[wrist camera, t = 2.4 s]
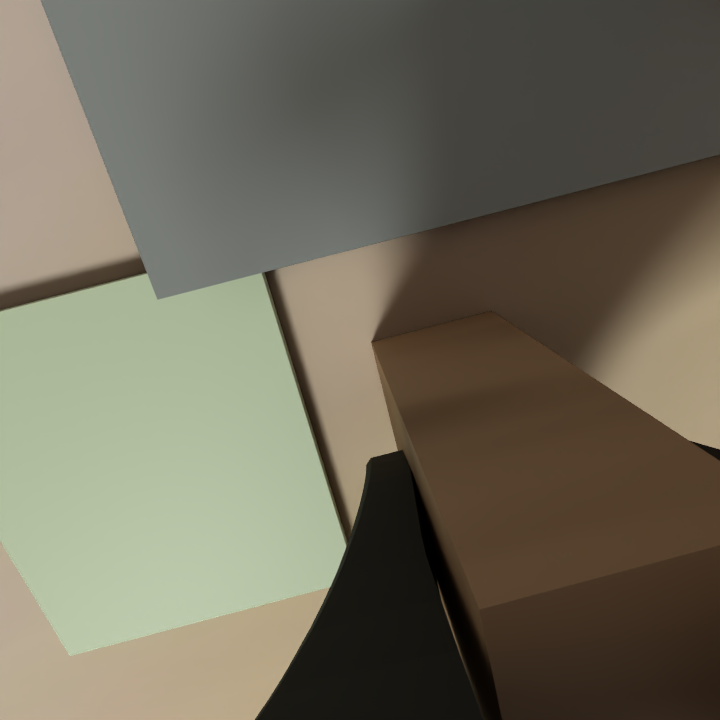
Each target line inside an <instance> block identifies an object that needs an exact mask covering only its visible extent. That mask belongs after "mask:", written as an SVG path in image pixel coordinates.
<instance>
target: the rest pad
mask: <svg viewBox="0 0 720 720" xmlns="http://www.w3.org/2000/svg"><path fill="white" fill-rule="evenodd" d="M0 542H1V543H2V545H3V546H4V548H5V550H6V551H7V553H8V555H9V556H10V558H11V560H12V561H13V563H14V565H15V566H16V568H17V570H18V571H19V573H20V575H21V576H22V578H23V580H24V581H25V583H26V585H27V586H28V588H29V589H30V591H31V593H32V594H33V596H34V598H35V599H36V601H37V603H38V604H39V606H40V608H41V609H42V611H43V613H44V614H45V616H46V618H47V619H48V621H49V623H50V624H51V626H52V627H53V629H54V631H55V632H56V634H57V636H58V637H59V639H60V641H61V642H62V644H63V646H64V647H65V649H66V651H67V652H68V654H69V656H72V655H76V654H79V653H83V652H87V651H91V650H94V649H98V648H102V647H106V646H110V645H113V644H117V643H121V642H125V641H128V640H132V639H136V638H140V637H144V636H147V635H151V634H155V633H159V632H162V631H166V630H170V629H174V628H178V627H181V626H185V625H189V624H193V623H196V622H200V621H204V620H208V619H212V618H215V617H219V616H223V615H227V614H230V613H234V612H238V611H242V610H245V609H249V608H253V607H257V606H261V605H264V604H268V603H272V602H276V601H279V600H283V599H287V598H291V597H295V596H298V595H302V594H306V593H310V592H313V591H317V590H321V589H325V588H329V587H331V584H332V582H333V580H334V578H335V575H336V573H337V570H338V568H339V565H340V562H341V560H342V557H343V555H344V552H345V549H346V547H347V544H348V542H347V539H346V536H345V533H344V529H343V526H342V523H341V520H340V516H339V513H338V510H337V507H336V503H335V500H334V497H333V494H332V490H331V487H330V484H329V481H328V477H327V474H326V471H325V468H324V464H323V461H322V458H321V455H320V451H319V448H318V445H317V442H316V438H315V435H314V432H313V429H312V425H311V422H310V419H309V416H308V412H307V409H306V406H305V403H304V399H303V396H302V393H301V390H300V386H299V383H298V380H297V377H296V373H295V370H294V367H293V364H292V360H291V357H290V354H289V351H288V347H287V344H286V341H285V338H284V335H283V331H282V328H281V325H280V322H279V318H278V315H277V312H276V309H275V305H274V302H273V299H272V296H271V292H270V289H269V286H268V283H267V279H266V276H265V273H264V272H263V273H259V274H255V275H252V276H248V277H244V278H240V279H236V280H232V281H228V282H224V283H221V284H217V285H213V286H209V287H205V288H201V289H197V290H193V291H190V292H186V293H182V294H178V295H174V296H170V297H166V298H163V299H159V300H157V297H156V295H155V292H154V290H153V287H152V285H151V282H150V279H149V277H148V274H147V272H146V273H142V274H138V275H134V276H130V277H127V278H123V279H119V280H115V281H111V282H107V283H103V284H99V285H96V286H92V287H88V288H84V289H80V290H76V291H72V292H68V293H64V294H61V295H57V296H53V297H49V298H45V299H41V300H37V301H33V302H30V303H26V304H22V305H18V306H14V307H10V308H6V309H2V310H0Z"/></svg>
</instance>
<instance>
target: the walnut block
mask: <svg viewBox="0 0 720 720" xmlns="http://www.w3.org/2000/svg"><path fill="white" fill-rule="evenodd" d="M371 343H372V347H373V351H374V355H375V359H376V363H377V367H378V372H379V376H380V380H381V384H382V388H383V392H384V396H385V400H386V404H387V408H388V412H389V416H390V420H391V425H392V429H393V433H394V437H395V441H396V445H397V449H398V451H400V450H403V452H404V455H405V457H406V459H407V461H408V464H409V466H410V470H411V474H412V478H413V482H414V486H415V491H416V495H417V499H418V503H419V507H420V512H421V516H422V520H423V524H424V528H425V533H426V537H427V541H428V545H429V549H430V553H431V558H432V562H433V566H434V570H435V574H436V579H437V583H438V587H439V592H440V597H441V601H442V604H443V607H444V610H445V613H446V615H447V618H448V621H449V624H450V627H451V630H452V633H453V636H454V639H455V641H456V644H457V647H458V650H459V653H460V656H461V658H462V661H463V664H464V667H465V670H466V672H467V675H468V678H469V681H470V684H471V686H472V689H473V692H474V695H475V697H476V700H477V703H478V706H479V709H480V711H481V714H482V717H483V720H720V461H719V460H718V459H716V458H715V457H713V456H712V455H710V454H708V453H707V452H705V451H704V450H702V449H701V448H699V447H698V446H696V445H695V444H693V443H692V442H690V441H689V440H687V439H686V438H684V437H683V436H681V435H680V434H678V433H676V432H675V431H673V430H672V429H670V428H669V427H667V426H666V425H664V424H663V423H661V422H660V421H658V420H657V419H655V418H654V417H652V416H651V415H649V414H648V413H646V412H644V411H643V410H641V409H640V408H638V407H637V406H635V405H634V404H632V403H631V402H629V401H628V400H626V399H625V398H623V397H622V396H620V395H619V394H617V393H616V392H614V391H612V390H611V389H609V388H608V387H606V386H605V385H603V384H602V383H600V382H599V381H597V380H596V379H594V378H593V377H591V376H590V375H588V374H587V373H585V372H584V371H582V370H580V369H579V368H577V367H576V366H574V365H573V364H571V363H570V362H568V361H567V360H565V359H564V358H562V357H561V356H559V355H558V354H556V353H555V352H553V351H552V350H550V349H548V348H547V347H545V346H544V345H542V344H541V343H539V342H538V341H536V340H535V339H533V338H532V337H530V336H529V335H527V334H526V333H524V332H523V331H521V330H520V329H518V328H516V327H515V326H513V325H512V324H510V323H509V322H507V321H506V320H504V319H503V318H501V317H500V316H498V315H497V314H495V313H494V312H492V311H489V312H486V313H482V314H478V315H474V316H470V317H466V318H462V319H459V320H455V321H451V322H447V323H443V324H439V325H436V326H432V327H428V328H424V329H420V330H416V331H413V332H409V333H405V334H401V335H397V336H393V337H389V338H386V339H382V340H378V341H374V342H371Z"/></svg>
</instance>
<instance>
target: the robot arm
mask: <svg viewBox="0 0 720 720" xmlns="http://www.w3.org/2000/svg"><path fill="white" fill-rule="evenodd" d="M690 442H692V441H690ZM692 443H693V444H695V445H696V446H698V447H699V448H701V449H702V450H704V451H705V452H707V453H708V454H710V455H712V456H713V457H715V458H716V459H718V460H719V461H720V450H719V449H716V448H712V447H709V446H705V445H702V444H699V443H695V442H692ZM255 720H483V717H482V714H481V711H480V709H479V706H478V703H477V700H476V697H475V695H474V692H473V689H472V686H471V684H470V681H469V678H468V675H467V672H466V670H465V667H464V664H463V661H462V658H461V656H460V653H459V650H458V647H457V644H456V641H455V639H454V636H453V633H452V630H451V627H450V624H449V621H448V618H447V615H446V613H445V610H444V607H443V604H442V601H441V597H440V592H439V587H438V583H437V579H436V574H435V570H434V566H433V562H432V558H431V553H430V549H429V545H428V541H427V537H426V533H425V528H424V524H423V520H422V516H421V512H420V507H419V503H418V499H417V495H416V491H415V486H414V482H413V478H412V474H411V470H410V466H409V464H408V461H407V459H406V457H405V455H404V452H403V450H400V451H396V452H392V453H389V454H385V455H381V456H377V457H373V458H371V459H370V460H369V462H368V463H367V465H366V478H365V484H364V489H363V493H362V498H361V502H360V506H359V509H358V513H357V516H356V519H355V523H354V526H353V530H352V533H351V536H350V539H349V541H348V544H347V547H346V549H345V552H344V555H343V557H342V560H341V562H340V565H339V568H338V570H337V573H336V575H335V578H334V580H333V582H332V584H331V587H330V589H329V591H328V593H327V596H326V598H325V600H324V602H323V604H322V606H321V608H320V610H319V612H318V614H317V616H316V618H315V620H314V622H313V624H312V626H311V628H310V630H309V632H308V633H307V635H306V637H305V639H304V641H303V642H302V644H301V646H300V648H299V649H298V651H297V653H296V655H295V657H294V658H293V660H292V662H291V664H290V666H289V667H288V669H287V671H286V672H285V674H284V676H283V677H282V679H281V681H280V682H279V684H278V685H277V687H276V689H275V690H274V692H273V693H272V695H271V697H270V698H269V700H268V701H267V703H266V704H265V706H264V707H263V708H262V710H261V711H260V713H259V714H258V716H257V717H256V719H255Z"/></svg>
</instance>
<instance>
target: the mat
mask: <svg viewBox="0 0 720 720" xmlns="http://www.w3.org/2000/svg"><path fill="white" fill-rule="evenodd" d="M41 2H42V5H43V7H44V10H45V13H46V15H47V18H48V20H49V23H50V25H51V28H52V31H53V33H54V36H55V38H56V41H57V43H58V46H59V49H60V51H61V54H62V56H63V59H64V61H65V64H66V66H67V69H68V72H69V74H70V77H71V79H72V82H73V84H74V87H75V90H76V92H77V95H78V97H79V100H80V102H81V105H82V108H83V110H84V113H85V115H86V118H87V120H88V123H89V125H90V128H91V131H92V133H93V136H94V138H95V141H96V143H97V146H98V149H99V151H100V154H101V156H102V159H103V161H104V164H105V167H106V169H107V172H108V174H109V177H110V179H111V182H112V184H113V187H114V190H115V192H116V195H117V197H118V200H119V202H120V205H121V208H122V210H123V213H124V215H125V218H126V220H127V223H128V226H129V228H130V231H131V233H132V236H133V238H134V241H135V243H136V246H137V249H138V251H139V254H140V256H141V259H142V261H143V264H144V267H145V269H146V272H147V274H148V277H149V279H150V282H151V285H152V287H153V290H154V292H155V295H156V297H157V300H159V299H163V298H166V297H170V296H174V295H178V294H182V293H186V292H190V291H193V290H197V289H201V288H205V287H209V286H213V285H217V284H221V283H224V282H228V281H232V280H236V279H240V278H244V277H248V276H252V275H255V274H259V273H263V272H267V271H271V270H275V269H279V268H283V267H286V266H290V265H294V264H298V263H302V262H306V261H310V260H314V259H317V258H321V257H325V256H329V255H333V254H337V253H341V252H344V251H348V250H352V249H356V248H360V247H364V246H368V245H372V244H375V243H379V242H383V241H387V240H391V239H395V238H399V237H403V236H406V235H410V234H414V233H418V232H422V231H426V230H430V229H434V228H437V227H441V226H445V225H449V224H453V223H457V222H461V221H465V220H468V219H472V218H476V217H480V216H484V215H488V214H492V213H495V212H499V211H503V210H507V209H511V208H515V207H519V206H523V205H526V204H530V203H534V202H538V201H542V200H546V199H550V198H554V197H557V196H561V195H565V194H569V193H573V192H577V191H581V190H585V189H588V188H592V187H596V186H600V185H604V184H608V183H612V182H616V181H619V180H623V179H627V178H631V177H635V176H639V175H643V174H646V173H650V172H654V171H658V170H662V169H666V168H670V167H674V166H677V165H681V164H685V163H689V162H693V161H697V160H701V159H705V158H708V157H712V156H716V155H720V0H41Z"/></svg>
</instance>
